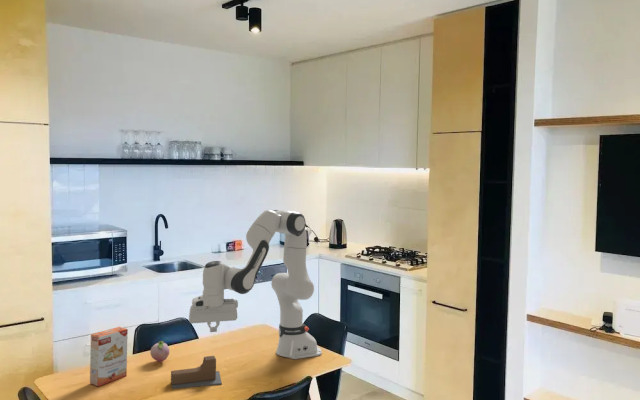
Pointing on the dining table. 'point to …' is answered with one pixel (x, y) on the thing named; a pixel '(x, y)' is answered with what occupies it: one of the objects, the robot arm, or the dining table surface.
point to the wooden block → (196, 372)
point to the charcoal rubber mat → (200, 383)
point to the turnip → (160, 351)
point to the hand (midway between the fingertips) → (213, 331)
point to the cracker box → (108, 356)
